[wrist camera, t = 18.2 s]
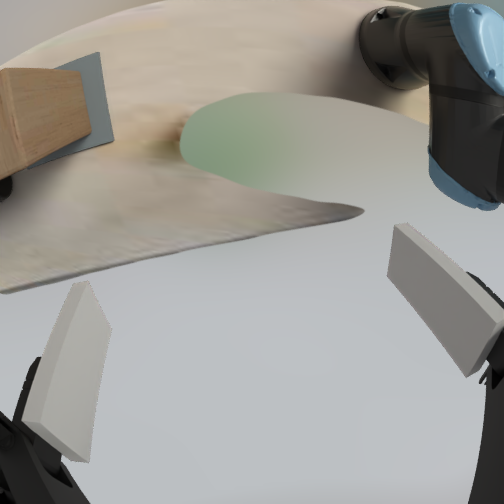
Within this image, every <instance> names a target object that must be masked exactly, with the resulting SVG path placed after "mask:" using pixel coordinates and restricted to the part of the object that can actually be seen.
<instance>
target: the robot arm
mask: <svg viewBox="0 0 504 504" xmlns="http://www.w3.org/2000/svg"><path fill="white" fill-rule="evenodd" d="M359 42H360V48H361V52H362V55H363V58H364V60H365V62H366V64H367V66H368V67H369V69H370V70H371V71H372V73H373V74H374V75H375V76H376V77H377V78H378V79H379V80H381V81H382V82H383V83H385V84H387V85H389V86H391V87H394V88H398V89H406V90H412V89H418V88H421V87H423V86H426V85H428V84H429V108H430V121H429V127H430V128H429V145H428V154H429V175H430V177H431V179H432V181H433V183H434V184H435V186H436V187H437V188H438V189H439V190H440V191H441V192H443V193H444V194H445V195H447V196H448V197H450V198H452V199H453V200H455V201H457V202H459V203H461V204H463V205H465V206H468V207H471V208H476V207H477V208H479V209H481V210H484V211H491V210H495V209H496V208H498V206H499V205H500V204H501V203H504V19H503V18H502V17H501V16H500V15H499V14H498V13H497V12H496V11H494V10H493V9H491V8H489V7H488V6H485V5H482V4H465V3H454V4H451V5H445V6H437V7H432V8H426V9H421V10H412V9H408V8H404V7H399V6H386V7H382V8H379V9H376V10H374V11H372V12H370V13H369V14H368V15H367V16H366V17H365V19H364V20H363V22H362V25H361V28H360V33H359ZM387 277H388V278H389V279H390V280H391V282H392V283H393V284H394V285H395V286H396V288H397V289H398V290H399V291H400V292H401V293H402V295H403V296H404V297H405V298H406V300H407V301H408V302H409V303H410V304H411V306H412V307H413V308H414V309H415V311H416V312H417V313H418V314H419V316H420V317H421V318H422V319H423V320H424V322H425V323H426V324H427V326H428V327H429V328H430V330H432V332H433V334H434V335H435V336H436V337H437V339H438V340H439V341H440V343H441V344H442V345H443V347H444V348H445V349H446V351H447V352H448V353H449V355H450V356H451V358H452V359H453V360H454V362H455V363H456V364H457V366H458V367H459V368H460V370H461V371H462V373H463V374H464V376H465V377H466V378H467V377H469V376H470V375H472V374H473V373H475V372H477V371H479V370H480V368H481V367H482V365H483V363H484V362H485V360H487V361H488V362H489V366H488V367H487V369H486V371H485V372H484V374H483V375H482V377H481V378H480V380H479V384H481V383H482V382H483V380H484V379H485V377H487V379H486V382H485V384H484V385H486V402H485V414H484V423H483V431H482V439H481V445H480V451H479V458H478V463H477V468H476V473H475V477H474V482H473V486H472V490H471V494H470V498H469V501H468V504H504V302H503V301H502V300H501V299H500V298H499V297H498V296H497V295H496V294H495V293H493V292H492V290H491V289H490V288H489V287H486V285H485V284H484V283H483V282H482V281H481V280H480V279H479V278H478V277H476V276H474V275H473V274H471V273H469V272H465V271H464V270H463V269H462V268H460V267H459V266H458V265H457V264H456V263H455V262H454V261H453V260H452V259H450V258H449V257H448V256H447V255H446V254H445V253H444V252H442V251H441V250H440V249H439V248H438V247H437V246H435V245H434V244H433V243H432V242H431V241H429V240H428V239H427V238H426V237H425V236H423V235H422V234H421V233H420V232H418V231H417V230H416V229H415V228H414V227H412V226H411V225H410V224H408V223H403V224H397V225H394V231H393V239H392V247H391V253H390V260H389V266H388V272H387ZM111 331H112V328H111V326H110V325H109V322H108V320H107V319H106V317H105V315H104V313H103V311H102V309H101V306H100V304H99V303H98V300H97V298H96V296H95V294H94V292H93V290H92V288H91V285H90V283H89V281H85V282H79V283H74V284H73V285H72V287H71V289H70V292H69V294H68V296H67V298H66V300H65V302H64V305H63V307H62V309H61V311H60V313H59V316H58V318H57V321H56V323H55V325H54V327H53V330H52V332H51V335H50V337H49V340H48V342H47V345H46V347H45V350H44V352H43V355H42V357H37V358H36V359H35V361H34V362H33V363H32V365H31V366H30V368H29V371H28V373H27V376H26V381H25V382H24V384H23V387H22V388H23V390H22V391H21V394H20V397H19V400H18V403H17V406H16V409H15V413H14V416H13V420H12V422H11V421H10V420H9V419H8V418H7V417H6V416H5V415H4V414H3V413H2V412H1V411H0V504H90V503H89V501H88V500H87V498H86V497H85V496H84V494H83V493H82V491H81V490H80V488H79V487H78V485H77V484H76V482H75V480H74V479H73V477H72V476H71V474H70V472H69V471H68V469H67V468H66V466H65V465H64V464H63V463H62V462H61V456H62V455H64V456H65V457H67V458H68V459H69V460H71V461H76V462H86V463H89V460H90V451H91V441H92V433H93V426H94V418H95V412H96V405H97V400H98V394H99V388H100V383H101V378H102V372H103V368H104V363H105V358H106V353H107V348H108V344H109V339H110V336H111Z"/></svg>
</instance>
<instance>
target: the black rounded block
mask: <svg viewBox="0 0 504 504" xmlns="http://www.w3.org/2000/svg"><path fill="white" fill-rule="evenodd" d="M11 192H12V179H11V175H10V176H8V177H6V178H4V179H1V180H0V202H2V201H3V200H5V199H6V198H8V197H9V196H10V194H11Z"/></svg>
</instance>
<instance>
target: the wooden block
mask: <svg viewBox="0 0 504 504" xmlns="http://www.w3.org/2000/svg"><path fill="white" fill-rule="evenodd" d="M91 132H92V128H91V124H90V120H89V115H88V110H87V106H86V101H85V96H84V91H83V85H82V80H81V74H80V72H79V71H71V70H58V69H41V68H4V69H2V70H1V71H0V180H1V179H4V178H6V177H8V176H10V175H12V174H14V173H16V172H19V171H21V170H23V169H25V168H27V167H29V166H30V165H32V164H34V163H35V162H37V161H39V160H41V159H42V158H44V157H46V156H48V155H50V154H51V153H53V152H55V151H57V150H59V149H61V148H63V147H64V146H66V145H68V144H70V143H72V142H74V141H76V140H78V139H80V138H82V137H84V136H87V135H89V134H90V133H91Z"/></svg>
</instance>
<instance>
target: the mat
mask: <svg viewBox="0 0 504 504" xmlns="http://www.w3.org/2000/svg"><path fill="white" fill-rule="evenodd" d="M54 69H58V70H71V71H79V72H80V74H81V80H82V85H83V91H84V96H85V101H86V106H87V110H88V115H89V120H90V124H91V128H92V132H91V133H90V134H89V135H87V136H84V137H82V138H80V139H78V140H76V141H74V142H72V143H70V144H68V145H66V146H64V147H63V148H61V149H59V150H57V151H55V152H53V153H51V154H50V155H48V156H46V157H44V158H42V159H41V160H39V161H37V162H35V163H34V164H32V165H30V166H29V167H27V168H28V169H30V168H33V167H35V166H38V165H41V164H43V163H46V162H49V161H52V160H54V159H57V158H60V157H63V156H66V155H69V154H72V153H75V152H78V151H81V150H84V149H87V148H91V147H94V146H97V145H101V144H104V143H108V142H111V141H114V135H113V130H112V125H111V120H110V115H109V110H108V104H107V99H106V93H105V87H104V80H103V74H102V67H101V60H100V52H96V53H93V54H91V55H88V56H85V57H82V58H79V59H77V60H74V61H72V62H69V63H67V64H64V65H62V66H59V67H57V68H54Z"/></svg>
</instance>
